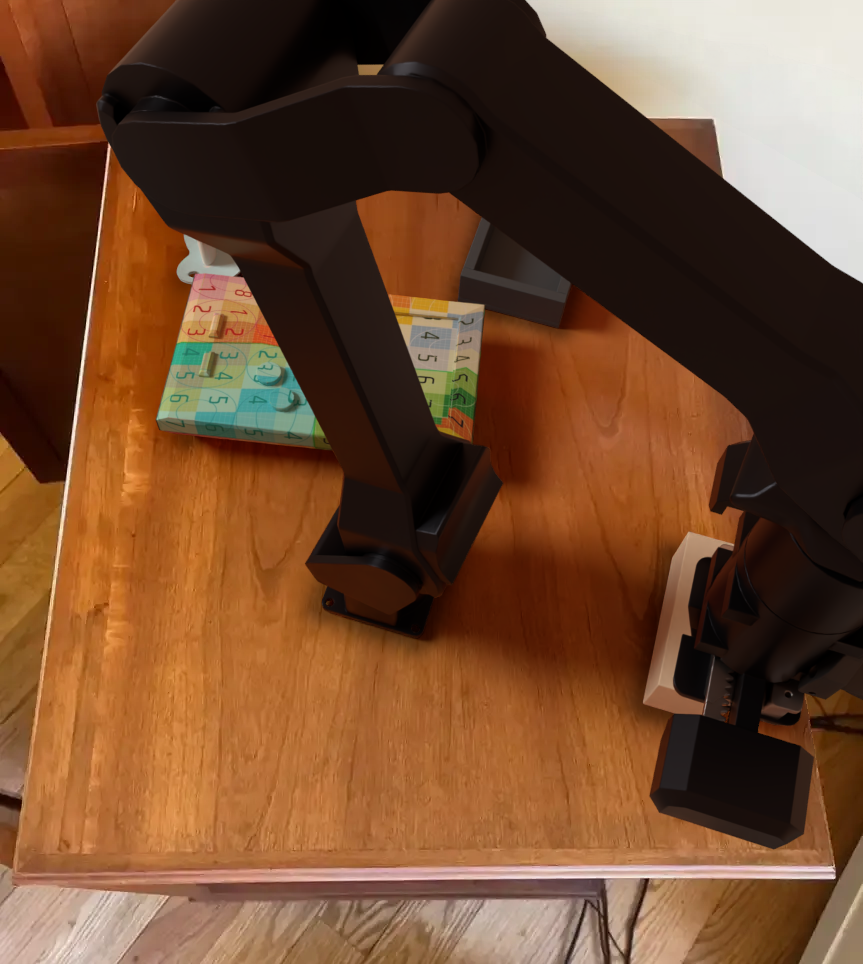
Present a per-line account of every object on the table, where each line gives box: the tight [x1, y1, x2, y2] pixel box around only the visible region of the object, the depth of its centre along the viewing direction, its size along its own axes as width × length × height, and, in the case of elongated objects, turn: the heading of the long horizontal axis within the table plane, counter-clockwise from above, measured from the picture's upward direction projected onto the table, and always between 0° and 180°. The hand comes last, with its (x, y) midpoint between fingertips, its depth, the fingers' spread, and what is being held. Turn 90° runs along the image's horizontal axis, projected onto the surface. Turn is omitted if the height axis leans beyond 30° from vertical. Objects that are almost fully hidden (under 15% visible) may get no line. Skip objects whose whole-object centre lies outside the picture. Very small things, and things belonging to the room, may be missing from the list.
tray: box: [457, 217, 573, 329], centre depth 75 cm, size 14×8×3 cm, turn 163°
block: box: [642, 531, 734, 715], centre depth 61 cm, size 4×4×10 cm
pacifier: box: [176, 234, 241, 285], centre depth 72 cm, size 7×6×6 cm
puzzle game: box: [155, 273, 486, 452], centre depth 68 cm, size 12×5×20 cm
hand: (706, 680), depth 55 cm, fingers closed
